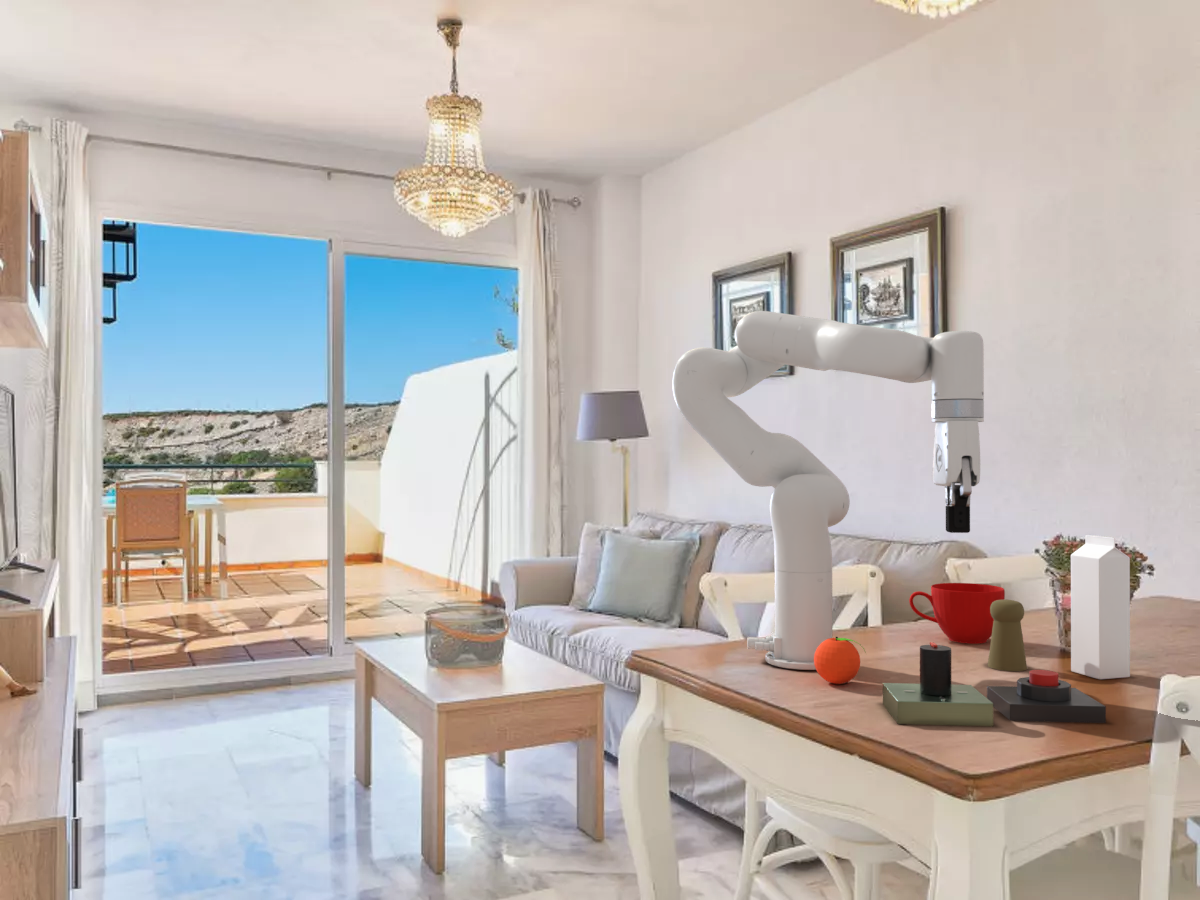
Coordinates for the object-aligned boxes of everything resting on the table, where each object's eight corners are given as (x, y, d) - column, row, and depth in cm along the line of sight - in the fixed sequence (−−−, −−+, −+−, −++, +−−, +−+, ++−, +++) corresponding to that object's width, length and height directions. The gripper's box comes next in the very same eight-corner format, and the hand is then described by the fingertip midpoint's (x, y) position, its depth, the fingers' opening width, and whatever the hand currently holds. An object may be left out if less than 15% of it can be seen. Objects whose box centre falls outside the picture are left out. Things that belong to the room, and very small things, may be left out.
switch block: (1010, 720, 125) (1010, 690, 125) (986, 701, 135) (986, 673, 135) (1105, 723, 124) (1105, 692, 124) (1075, 703, 134) (1075, 674, 134)
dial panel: (897, 724, 124) (897, 699, 124) (882, 704, 134) (882, 681, 134) (993, 726, 122) (993, 702, 122) (971, 706, 132) (971, 683, 132)
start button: (1034, 688, 128) (1034, 675, 128) (1025, 682, 131) (1025, 669, 131) (1062, 688, 128) (1062, 675, 128) (1052, 682, 131) (1052, 669, 131)
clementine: (859, 677, 149) (859, 632, 149) (873, 688, 142) (873, 641, 143) (808, 678, 149) (808, 632, 149) (820, 688, 142) (820, 641, 142)
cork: (1031, 671, 153) (1031, 603, 153) (991, 670, 155) (991, 602, 155) (1022, 663, 159) (1022, 598, 159) (984, 662, 161) (983, 596, 161)
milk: (1099, 680, 148) (1099, 538, 148) (1070, 671, 154) (1069, 534, 154) (1131, 677, 150) (1130, 536, 150) (1100, 668, 156) (1100, 533, 155)
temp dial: (954, 696, 126) (954, 648, 126) (923, 695, 126) (923, 647, 126) (947, 688, 130) (947, 642, 130) (916, 688, 130) (916, 642, 130)
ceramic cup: (908, 631, 189) (907, 581, 189) (1000, 635, 184) (999, 584, 184) (910, 644, 176) (910, 590, 176) (1009, 649, 172) (1009, 593, 172)
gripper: (920, 414, 154) (921, 528, 154) (944, 410, 139) (945, 536, 139) (968, 414, 153) (969, 528, 153) (998, 410, 139) (998, 536, 138)
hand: (957, 532), depth 146 cm, fingers closed
